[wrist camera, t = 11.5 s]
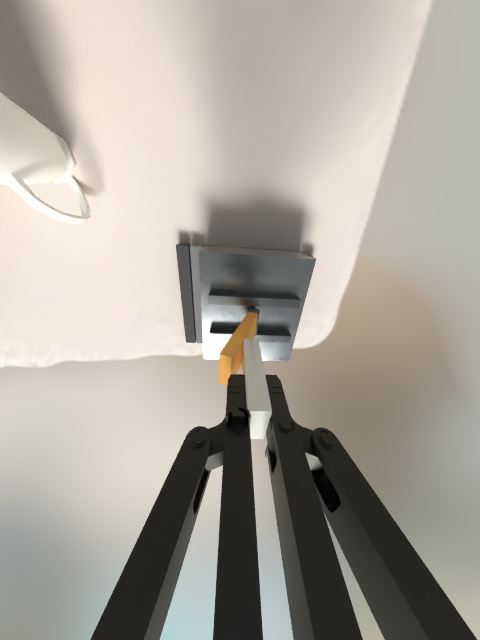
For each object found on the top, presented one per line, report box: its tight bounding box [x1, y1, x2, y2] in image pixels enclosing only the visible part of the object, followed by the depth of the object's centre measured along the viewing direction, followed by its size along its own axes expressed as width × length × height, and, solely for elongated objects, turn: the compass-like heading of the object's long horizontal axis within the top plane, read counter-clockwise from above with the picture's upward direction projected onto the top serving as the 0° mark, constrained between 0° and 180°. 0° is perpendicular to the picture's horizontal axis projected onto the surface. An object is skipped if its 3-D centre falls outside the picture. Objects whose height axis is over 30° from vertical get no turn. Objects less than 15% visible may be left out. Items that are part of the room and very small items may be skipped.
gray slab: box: [176, 244, 204, 343], centre depth 25 cm, size 14×3×1 cm, turn 176°
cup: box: [0, 93, 90, 224], centre depth 14 cm, size 7×10×8 cm
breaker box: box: [199, 245, 316, 361], centre depth 23 cm, size 14×12×6 cm
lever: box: [219, 308, 260, 385], centre depth 17 cm, size 3×1×9 cm, turn 176°
